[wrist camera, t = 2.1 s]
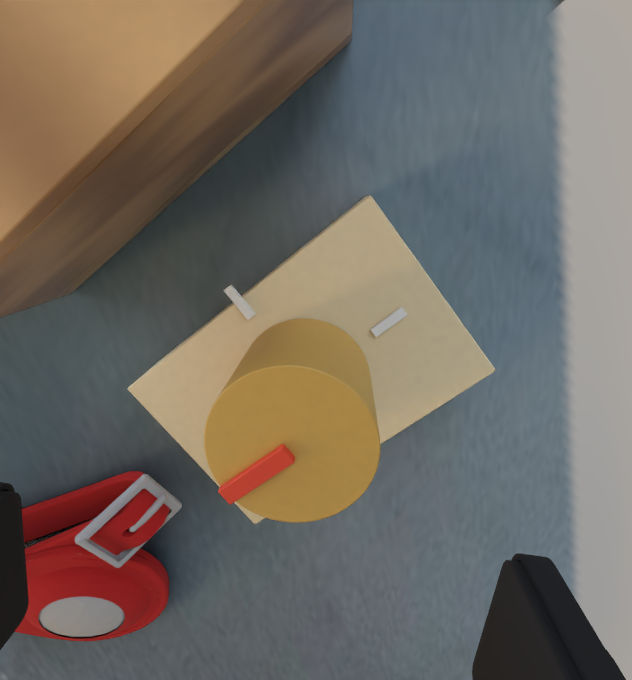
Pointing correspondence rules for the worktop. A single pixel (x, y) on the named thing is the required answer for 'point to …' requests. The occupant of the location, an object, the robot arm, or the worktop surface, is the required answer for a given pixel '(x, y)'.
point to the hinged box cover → (88, 86)
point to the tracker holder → (96, 560)
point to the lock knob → (295, 424)
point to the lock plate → (339, 310)
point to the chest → (174, 146)
